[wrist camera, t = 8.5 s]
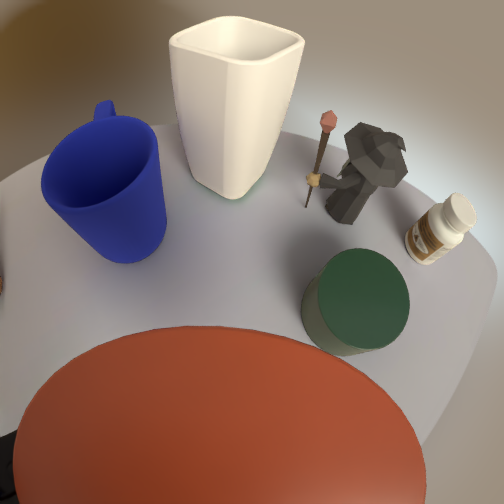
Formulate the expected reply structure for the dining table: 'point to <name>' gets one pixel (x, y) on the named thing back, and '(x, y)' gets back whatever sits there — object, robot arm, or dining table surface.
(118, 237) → the mug
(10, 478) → the robot arm
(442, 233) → the pill bottle
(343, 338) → the tin
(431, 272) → the dining table surface
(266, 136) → the cup
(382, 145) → the wizard figurine
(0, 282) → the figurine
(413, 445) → the top tin
